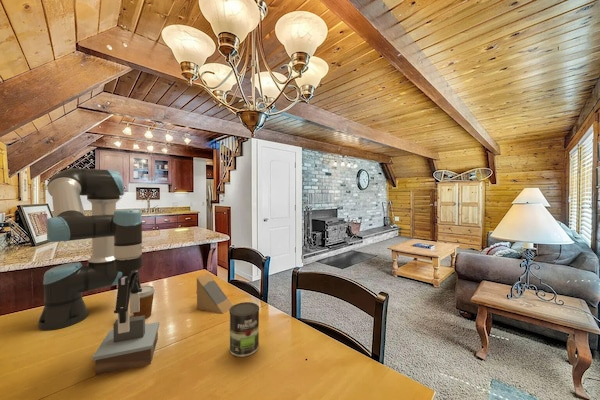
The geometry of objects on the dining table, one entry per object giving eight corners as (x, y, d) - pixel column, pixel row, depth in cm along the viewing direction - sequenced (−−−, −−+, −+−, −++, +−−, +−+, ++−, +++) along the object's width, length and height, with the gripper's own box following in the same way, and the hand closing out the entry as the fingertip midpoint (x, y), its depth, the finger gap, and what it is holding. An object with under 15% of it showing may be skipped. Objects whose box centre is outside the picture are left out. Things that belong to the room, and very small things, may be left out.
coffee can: (263, 351, 85) (263, 311, 85) (232, 360, 80) (232, 318, 80) (254, 335, 94) (254, 299, 94) (226, 343, 89) (226, 305, 89)
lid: (110, 332, 85) (109, 313, 85) (159, 324, 91) (159, 305, 90) (92, 360, 71) (91, 337, 71) (152, 348, 77) (151, 326, 77)
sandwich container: (223, 314, 110) (223, 281, 110) (196, 309, 116) (196, 277, 115) (234, 306, 119) (234, 275, 118) (208, 301, 124) (208, 272, 123)
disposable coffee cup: (124, 319, 106) (124, 291, 105) (145, 309, 114) (145, 284, 114) (139, 324, 102) (139, 295, 102) (160, 313, 111) (160, 287, 110)
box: (111, 350, 85) (111, 333, 85) (157, 341, 90) (157, 325, 90) (95, 379, 72) (95, 359, 72) (150, 366, 77) (150, 348, 77)
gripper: (132, 266, 70) (133, 339, 70) (149, 248, 93) (150, 303, 94) (100, 269, 67) (101, 345, 68) (125, 249, 90) (126, 306, 91)
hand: (129, 321), depth 81 cm, fingers open, 13 cm apart
